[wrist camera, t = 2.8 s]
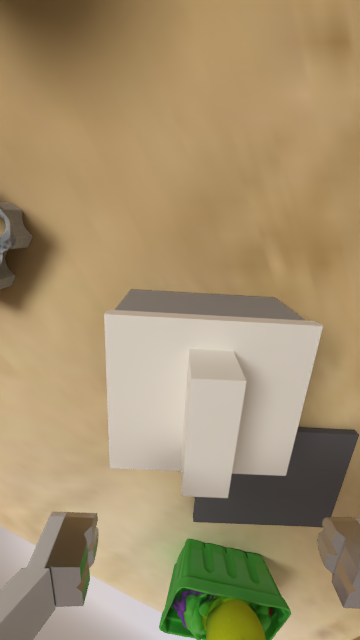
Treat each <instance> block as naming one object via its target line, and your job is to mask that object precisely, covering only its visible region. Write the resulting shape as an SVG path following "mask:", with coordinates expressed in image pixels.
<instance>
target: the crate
mask: <svg viewBox="0 0 360 640" xmlns="http://www.w3.org/2000/svg"><path fill="white" fill-rule="evenodd" d="M115 310H124V311H142V312H160V313H178V314H197V315H215V316H233V317H251V318H269V319H287V320H305V319H303V318H302V317H301V316H299V315H298V314H297V313H295V312H294V311H293V310H291V309H290V308H289V307H287V306H286V305H285V304H283V303H282V302H280V301H279V300H278V299H276V298H275V297H258V296H240V295H223V294H205V293H187V292H170V291H152V290H134V289H131V290H130V291H129V293H128V294H127V295H126V296H125V298H124V299H123V300H122V301H121V303H120V304H119V305H118V306H117V308H116V309H115ZM305 321H306V320H305Z"/></svg>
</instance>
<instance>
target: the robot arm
mask: <svg viewBox="0 0 360 640" xmlns="http://www.w3.org/2000/svg"><path fill="white" fill-rule="evenodd" d="M97 521H98V517H97V513H75V512H52V514H51V515H50V517H49V518H48V521H47V523H46V525H45V527H44V530H43V532H42V534H41V536H40V539H39V541H38V543H37V546H36V548H35V550H34V552H33V555H32V557H31V559H30V561H29V564H28V566H27V568H21V569H20V570H19V572H17V573H16V574H15V575H14V576H13V577H12V578H11V579H10V580H9V581H8V582H7V583H6V584H5V585H4V586H3V587H2V588H1V589H0V640H33V639H34V638H35V636H36V635H37V634H38V632H39V631H40V630H41V628H42V627H43V625H44V624H45V623H46V621H47V620H48V618H49V617H50V616H51V614H52V613H53V612H54V610H55V607H62V606H83V605H84V601H85V596H86V593H87V589H88V585H89V581H90V574H89V568H90V567H91V566H92V564H93V563H94V560H95V556H96V551H97V545H98V528H97V527H96V525H97ZM322 526H323V528H324V529H323V530H322V531H321V532H320V533H319V535H318V539H317V541H318V550H319V553H320V556H321V559H322V561H323V563H324V566H325V567H326V568H327V569H328V570H329V571H330V572H331V573H332V574H333V575H332V583H333V586H334V588H335V590H336V592H337V594H338V597H339V599H340V601H341V603H342V605H343V608H360V518H352V517H326V518H325V519H323V522H322Z"/></svg>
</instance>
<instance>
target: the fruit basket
mask: <svg viewBox="0 0 360 640" xmlns="http://www.w3.org/2000/svg"><path fill="white" fill-rule="evenodd" d="M290 615H291V611H290V609H289V607H288V605H287V603H286V602H285V600H284V599H283V598H282V596H281V594H280V592H279V590H278V588H277V586H276V584H275V582H274V580H273V578H272V576H271V574H270V572H269V570H268V568H267V566H266V564H265V562H264V560H263V557H262V556H261V555H258V554H254V553H245V552H243V551H241V550H236V549H232V548H224V547H222V546H219V545H215V544H210V543H204V544H203V543H202V542H200V541H197V540H192V539H187V541H186V543H185V547H184V548H183V549H182V551H181V553H180V555H179V557H178V560H177V563H176V564H175V566H174V570H173V574H172V579H171V583H170V587H169V592H168V596H167V601H166V605H165V609H164V611H163V613H162V617H161V621H160V625H159V628H160V630H161V631H163V632H165V633H168V634H175V635H179V636H184V637H191V638H195V639H197V640H201V639H202V640H272V638H273V637H274V636H275V634H276V633H277V632H278V631H279V629H280V628H281V627H282V626H283V624H284V623H285V622H286V621H287V619H288V618H289V616H290Z"/></svg>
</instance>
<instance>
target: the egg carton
mask: <svg viewBox="0 0 360 640" xmlns="http://www.w3.org/2000/svg"><path fill="white" fill-rule="evenodd" d="M22 215H23V211H22V210H21V209H19V208H18V207H16V206H15V205H13V204H11V203H6V202H0V217H1V218H3V219H4V221H5V226H6V229H5V231H4V232H3V234H2V236H1V237H0V289H3V288H6V287H10V286H12V284H13V281H14V279H15V275H14V274H13V273H12V272H11V271H10V270H9V268H8V267H7V265H6V261H5V256H6V253H7V251H8V250H9V249H17V248H27V247H28V246H29V244H30V241H31V239H32V235H31V234H30V233H29V232H28V231H27V230H26V228H25V226H24V224H23V220H22Z"/></svg>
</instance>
